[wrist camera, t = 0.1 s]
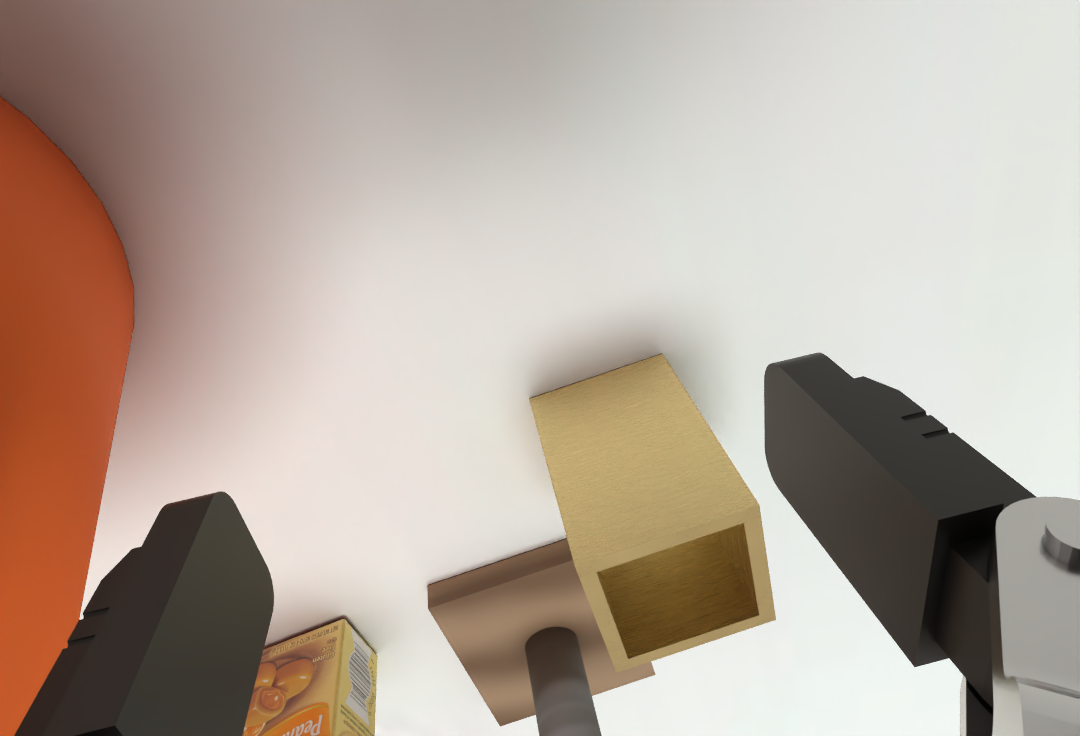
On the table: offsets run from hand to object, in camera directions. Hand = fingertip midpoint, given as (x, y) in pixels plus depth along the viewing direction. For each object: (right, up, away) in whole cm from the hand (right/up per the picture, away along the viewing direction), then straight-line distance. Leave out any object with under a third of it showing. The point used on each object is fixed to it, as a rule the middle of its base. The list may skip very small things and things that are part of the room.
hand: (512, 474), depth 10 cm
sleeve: (+4, -1, +22) cm, 23 cm away
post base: (+1, -13, +29) cm, 32 cm away
